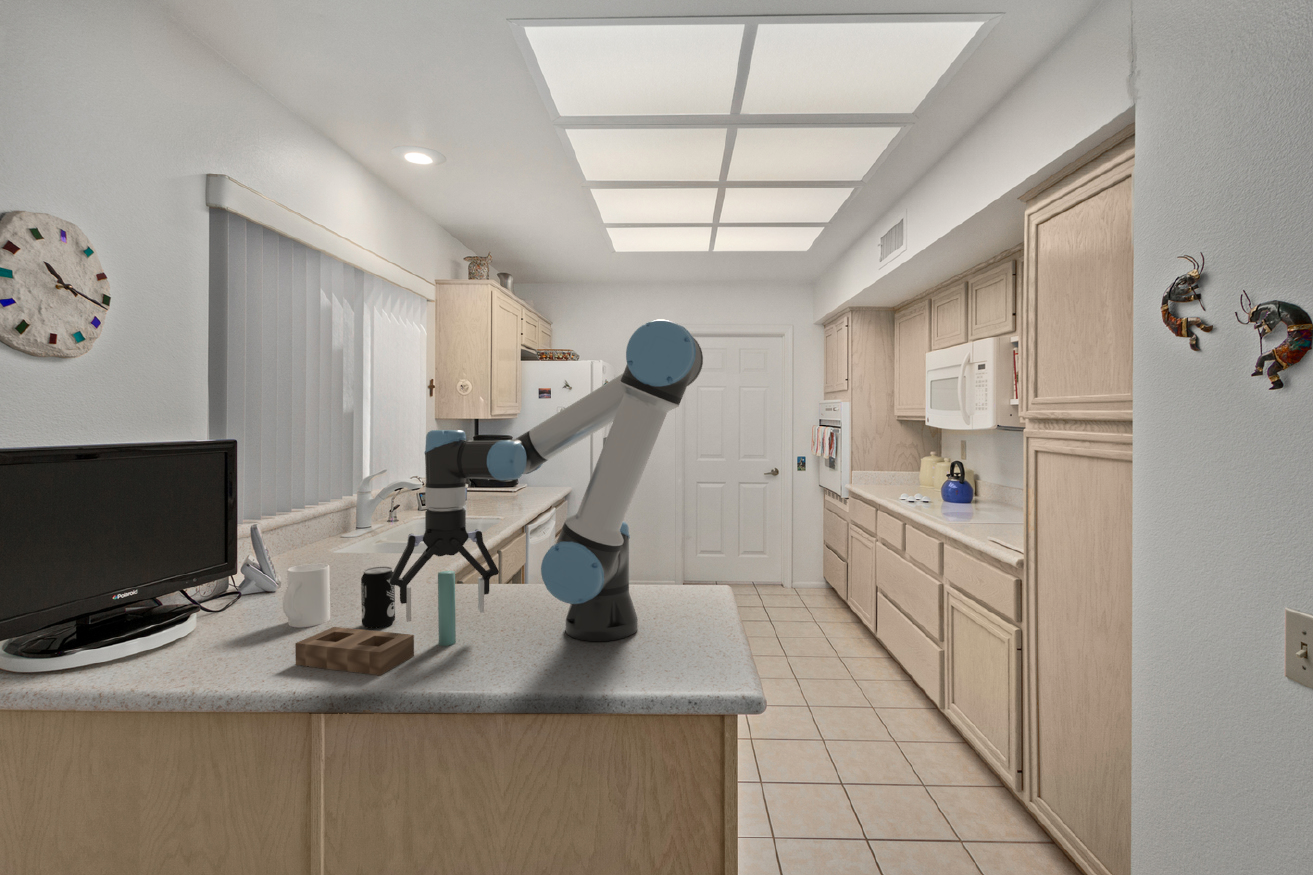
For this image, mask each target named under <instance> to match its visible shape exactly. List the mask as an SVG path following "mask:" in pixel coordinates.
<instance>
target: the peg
mask: <svg viewBox="0 0 1313 875" xmlns="http://www.w3.org/2000/svg"><path fill="white" fill-rule="evenodd" d="M437 600H438V601H437V602H438V603H437V608H438V609H437V611H438V612H437V613H438V614H437V615H438V618H437V620H438V623H437V625H438V626H437V627H438V646H441V647H448V646H453V645H455V644H456V641H457V640H456V638H457V637H456V635H457V633H456V632H457V631H456V630H457V629H456V627H457V626H456V571H455V570H443V571H439V572H437Z"/></svg>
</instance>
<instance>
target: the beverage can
mask: <svg viewBox="0 0 1313 875" xmlns="http://www.w3.org/2000/svg"><path fill="white" fill-rule="evenodd" d="M362 573H363V574H362V576H361V578H360V580H361V581H360V583H361V584H360V590H361V591H360V593H361V597H360V598H361V625H362V626H364V628H365V629H369V630H370V629H371V630H375V629H382V628H386V627H389V626H391V625H392V624H393V623H394V622H395V620H396V593H395V592H396V590H395V589H396V587H395V586H396V585H391V584H390V577H391V575H392V573H393V567H391V566H374V567H370V568H366V569H363V571H362Z"/></svg>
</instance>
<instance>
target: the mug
mask: <svg viewBox="0 0 1313 875" xmlns="http://www.w3.org/2000/svg"><path fill="white" fill-rule="evenodd" d="M286 572H287V573H286V574H287V586H286V589H285V592H284V594H283V599H282V610H283V613H284V615H285V616H286V617H287V620H288V622H287V624H288V626H289V627H292V628H309V627H315V626H320V625H323V624H325V623H326V622H328V621H330V619H331V598H330V597H331V594H330V592H331V590H330V587H331V586H330V565H329V564H328V563H320V562H319V563H318V562H316V563H304V564H300V565H299V564H298V565H295V566H291V567H289V568H288V569H287V570H286Z"/></svg>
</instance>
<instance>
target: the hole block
mask: <svg viewBox="0 0 1313 875" xmlns="http://www.w3.org/2000/svg"><path fill="white" fill-rule="evenodd" d="M294 644H295V645H294V646H295V648H294V649H295V650H294V651H295V666H299V665H302V666H301V667H307V666H309V668H315V667H317V669H325V670H334V671H341V672H349V673H350V672H351V673H357V674H366V675H374V676H382V675H384V674H385V673H387V672H388V671H390V670H393V669H394V668H396V667H397V666H399V665H401V664H402V663H405V662H406V661H408V660H410V659H411V658H413V657H415V634H410V633H409V634H408V633H401V632H399V633H398V632H390V631H382V630H381V631H379V630H372V629H371V630H370V629H369V630H368V629H359V628H349V627H340V626H332V627H331V628H328V629H326V630H323V631H320V632H318V633H316V634H313V635H311V636H309V637H306V638H304V639H302V640H298V641H297V642H295V643H294Z"/></svg>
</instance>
